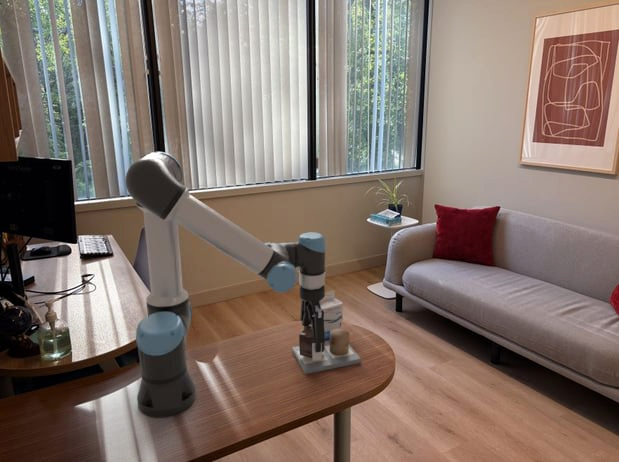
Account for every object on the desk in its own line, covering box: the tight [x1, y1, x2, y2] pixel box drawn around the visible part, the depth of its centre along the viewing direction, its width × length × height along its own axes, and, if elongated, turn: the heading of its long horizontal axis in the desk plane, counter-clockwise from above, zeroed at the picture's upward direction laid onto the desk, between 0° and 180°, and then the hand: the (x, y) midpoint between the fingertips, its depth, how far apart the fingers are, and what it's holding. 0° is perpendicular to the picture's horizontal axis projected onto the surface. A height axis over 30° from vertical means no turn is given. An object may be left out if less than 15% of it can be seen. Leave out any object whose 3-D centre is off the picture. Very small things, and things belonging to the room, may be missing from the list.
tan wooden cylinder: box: [329, 328, 350, 356], centre depth 145 cm, size 6×6×6 cm
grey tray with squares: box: [291, 339, 362, 375], centre depth 145 cm, size 18×13×2 cm
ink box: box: [319, 289, 344, 340], centre depth 156 cm, size 8×5×15 cm, turn 123°
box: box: [298, 325, 325, 358], centre depth 142 cm, size 6×6×7 cm
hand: (311, 352), depth 143 cm, fingers closed on box, 8 cm apart
